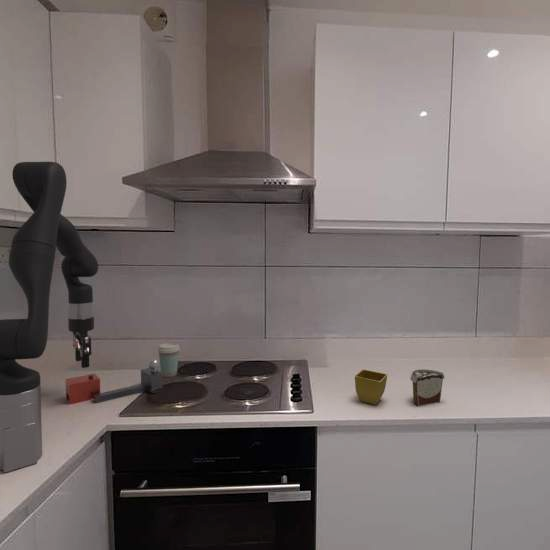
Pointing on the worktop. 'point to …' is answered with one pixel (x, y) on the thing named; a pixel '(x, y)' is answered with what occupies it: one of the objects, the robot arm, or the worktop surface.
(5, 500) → the worktop surface
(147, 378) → the grey bar with block
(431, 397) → the food container
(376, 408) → the worktop surface
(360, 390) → the flower pot
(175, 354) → the coffee cup
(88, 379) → the red box with knob
